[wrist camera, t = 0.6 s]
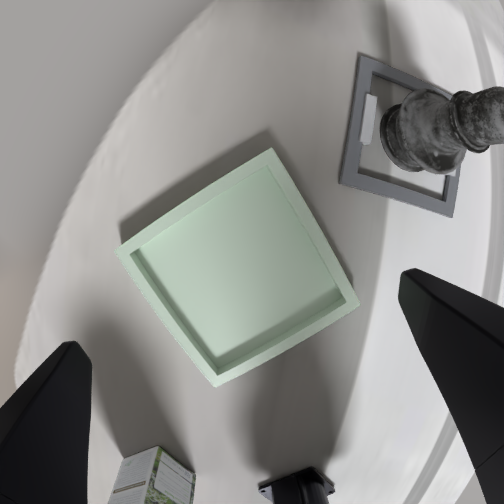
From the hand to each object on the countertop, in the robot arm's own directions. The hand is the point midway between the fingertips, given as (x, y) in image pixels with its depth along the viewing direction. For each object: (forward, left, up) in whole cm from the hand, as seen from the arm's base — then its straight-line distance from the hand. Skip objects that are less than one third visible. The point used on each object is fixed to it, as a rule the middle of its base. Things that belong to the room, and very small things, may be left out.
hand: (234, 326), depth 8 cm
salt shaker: (0, -15, -14) cm, 20 cm away
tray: (-2, +1, -13) cm, 14 cm away
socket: (0, -15, -13) cm, 20 cm away
